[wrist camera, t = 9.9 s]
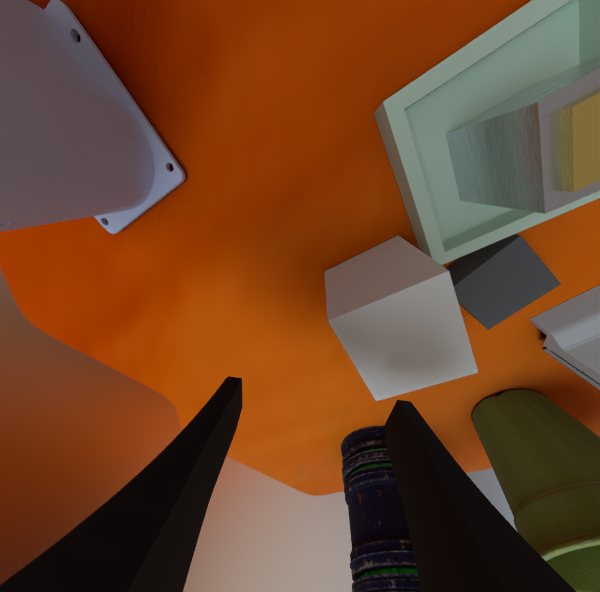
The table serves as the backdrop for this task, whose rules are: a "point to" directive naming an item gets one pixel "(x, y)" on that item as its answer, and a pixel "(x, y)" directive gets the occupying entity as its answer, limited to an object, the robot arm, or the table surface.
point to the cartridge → (533, 145)
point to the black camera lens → (376, 516)
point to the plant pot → (547, 479)
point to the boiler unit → (398, 319)
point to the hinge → (574, 334)
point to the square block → (500, 280)
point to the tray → (468, 104)
